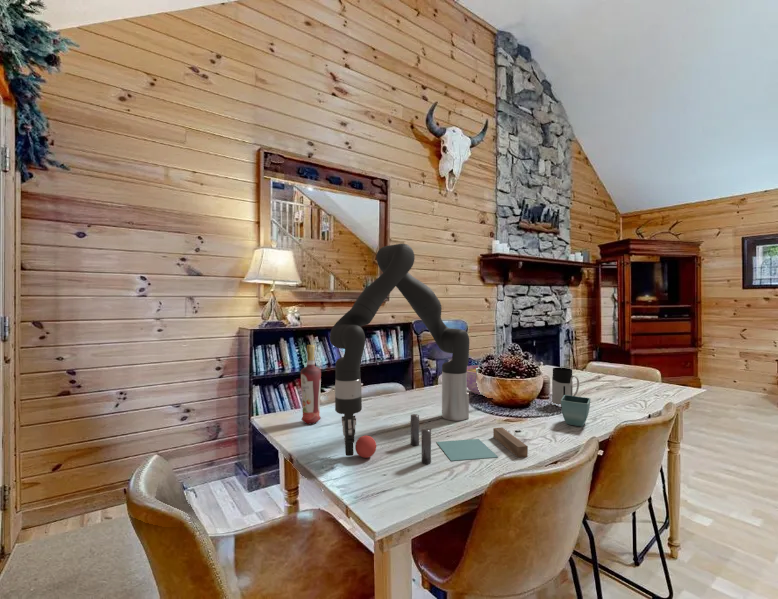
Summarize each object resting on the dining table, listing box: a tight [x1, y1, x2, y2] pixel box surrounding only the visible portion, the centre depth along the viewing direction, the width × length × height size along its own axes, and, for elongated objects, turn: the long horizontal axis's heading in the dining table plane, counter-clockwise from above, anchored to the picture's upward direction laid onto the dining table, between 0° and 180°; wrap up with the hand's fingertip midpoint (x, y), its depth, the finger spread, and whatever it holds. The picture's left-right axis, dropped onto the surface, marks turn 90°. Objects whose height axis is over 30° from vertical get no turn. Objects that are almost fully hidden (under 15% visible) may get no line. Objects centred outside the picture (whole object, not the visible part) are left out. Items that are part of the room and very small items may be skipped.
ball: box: [354, 435, 377, 459], centre depth 113 cm, size 6×6×6 cm
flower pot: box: [560, 395, 591, 427], centre depth 141 cm, size 9×9×9 cm
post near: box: [421, 428, 432, 465], centre depth 109 cm, size 3×3×9 cm
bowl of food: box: [467, 365, 480, 396], centre depth 182 cm, size 20×20×12 cm
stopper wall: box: [492, 427, 529, 458], centre depth 120 cm, size 3×16×3 cm, turn 10°
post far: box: [410, 413, 420, 447], centre depth 122 cm, size 3×3×9 cm
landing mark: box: [436, 438, 499, 462], centre depth 118 cm, size 14×14×1 cm
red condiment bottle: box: [300, 344, 322, 425], centre depth 143 cm, size 7×7×28 cm
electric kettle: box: [551, 366, 580, 404], centre depth 162 cm, size 9×14×15 cm, turn 12°
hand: (349, 454), depth 113 cm, fingers closed
